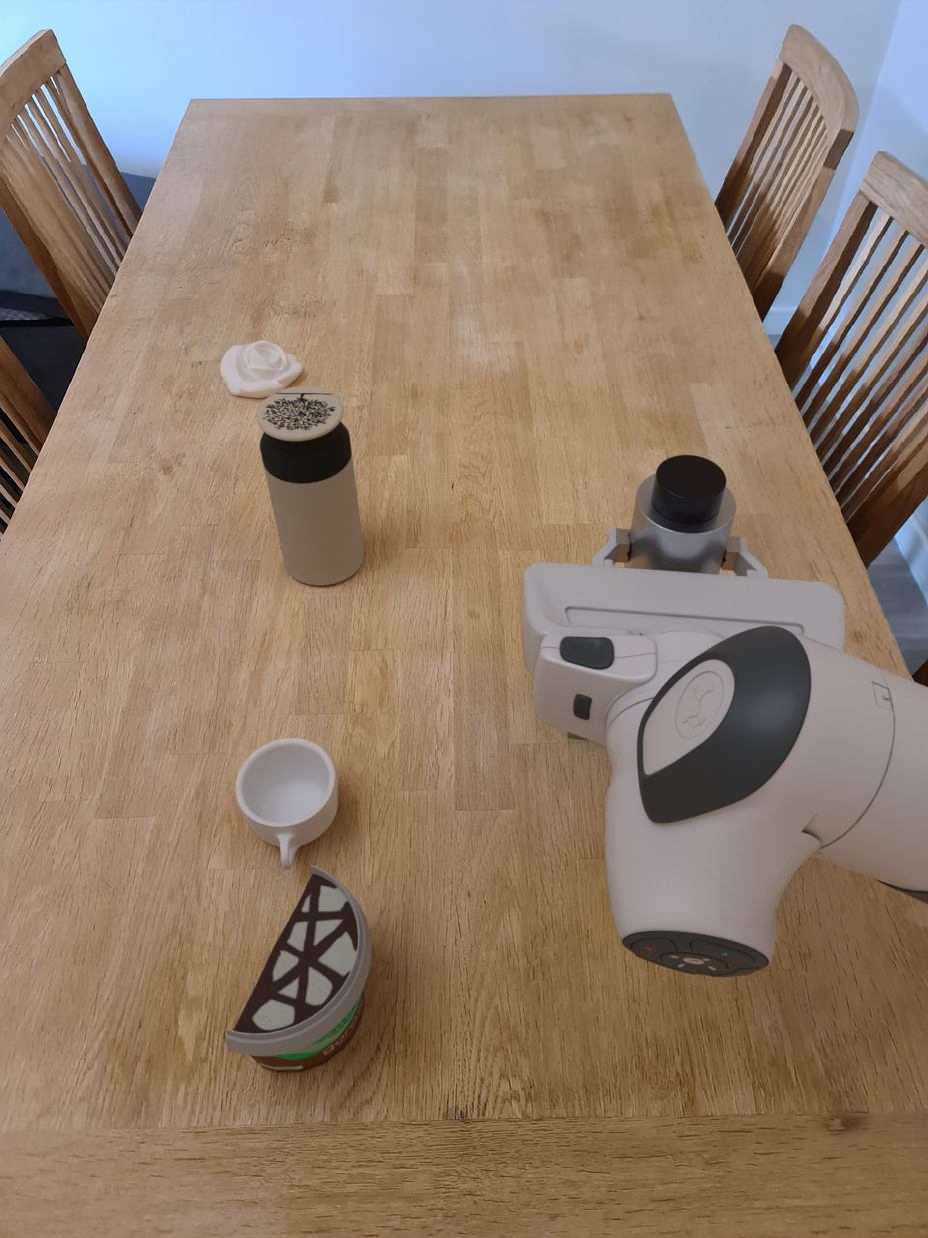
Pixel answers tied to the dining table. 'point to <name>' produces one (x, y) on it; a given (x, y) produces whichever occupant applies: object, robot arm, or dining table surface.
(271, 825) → the teacup
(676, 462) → the flask
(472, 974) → the dining table surface
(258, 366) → the rose
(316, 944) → the food container
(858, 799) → the robot arm
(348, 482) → the travel mug
